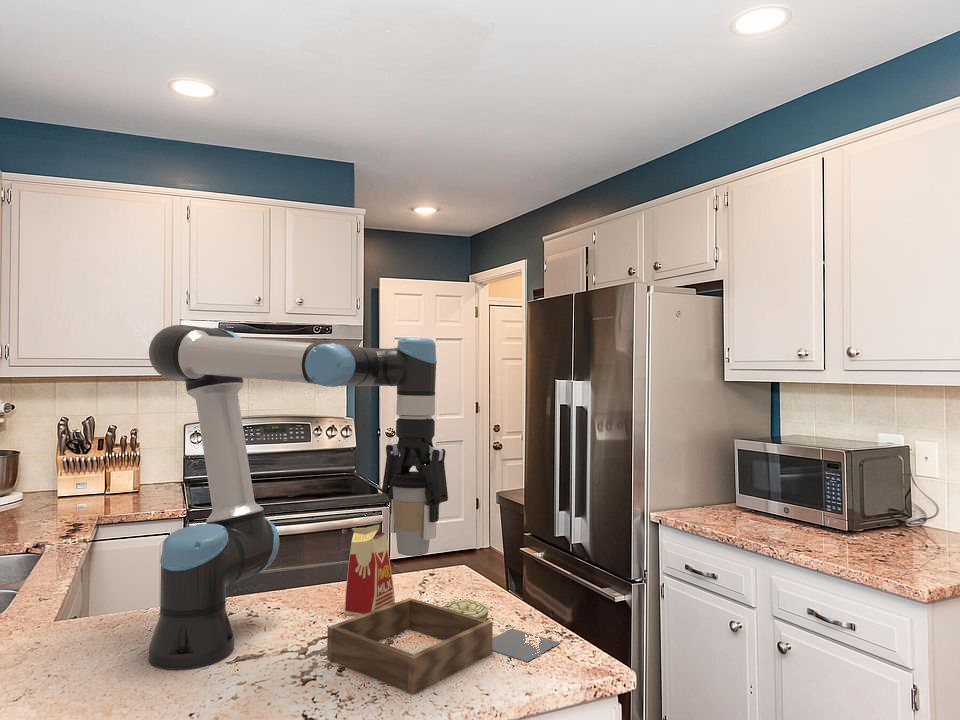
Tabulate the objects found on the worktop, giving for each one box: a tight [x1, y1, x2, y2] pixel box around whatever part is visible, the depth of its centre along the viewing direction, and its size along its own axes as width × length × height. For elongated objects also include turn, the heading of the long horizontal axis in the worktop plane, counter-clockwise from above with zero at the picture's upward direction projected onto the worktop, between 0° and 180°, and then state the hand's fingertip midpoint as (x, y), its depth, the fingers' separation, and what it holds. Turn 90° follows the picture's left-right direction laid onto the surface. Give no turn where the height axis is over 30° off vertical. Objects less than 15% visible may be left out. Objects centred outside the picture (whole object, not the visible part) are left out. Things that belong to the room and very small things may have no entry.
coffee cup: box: [390, 470, 433, 557], centre depth 130 cm, size 9×9×15 cm
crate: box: [326, 597, 494, 695], centre depth 129 cm, size 22×22×6 cm
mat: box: [492, 628, 561, 663], centre depth 135 cm, size 12×12×1 cm
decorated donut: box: [442, 599, 489, 620], centre depth 148 cm, size 10×11×4 cm
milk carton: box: [344, 524, 396, 617], centre depth 154 cm, size 9×9×20 cm
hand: (413, 534), depth 130 cm, fingers closed on coffee cup, 8 cm apart
